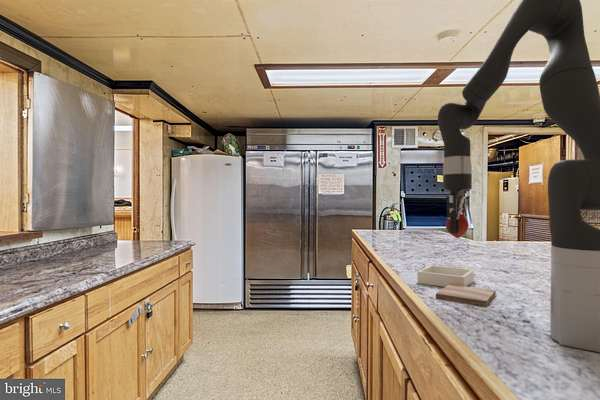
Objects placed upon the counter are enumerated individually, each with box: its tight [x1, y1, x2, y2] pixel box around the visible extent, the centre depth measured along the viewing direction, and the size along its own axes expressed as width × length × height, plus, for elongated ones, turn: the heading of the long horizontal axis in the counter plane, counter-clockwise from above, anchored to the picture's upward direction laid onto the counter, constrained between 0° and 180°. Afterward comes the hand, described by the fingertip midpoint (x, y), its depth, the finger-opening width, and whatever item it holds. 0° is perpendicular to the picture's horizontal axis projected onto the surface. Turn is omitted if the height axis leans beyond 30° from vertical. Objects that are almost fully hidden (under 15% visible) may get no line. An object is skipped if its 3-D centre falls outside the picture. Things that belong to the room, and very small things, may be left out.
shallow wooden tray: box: [416, 264, 475, 288], centre depth 116 cm, size 13×13×4 cm
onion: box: [445, 214, 469, 239], centre depth 106 cm, size 6×6×8 cm
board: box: [435, 284, 497, 307], centre depth 99 cm, size 13×12×1 cm
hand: (457, 232), depth 106 cm, fingers closed on onion, 6 cm apart
